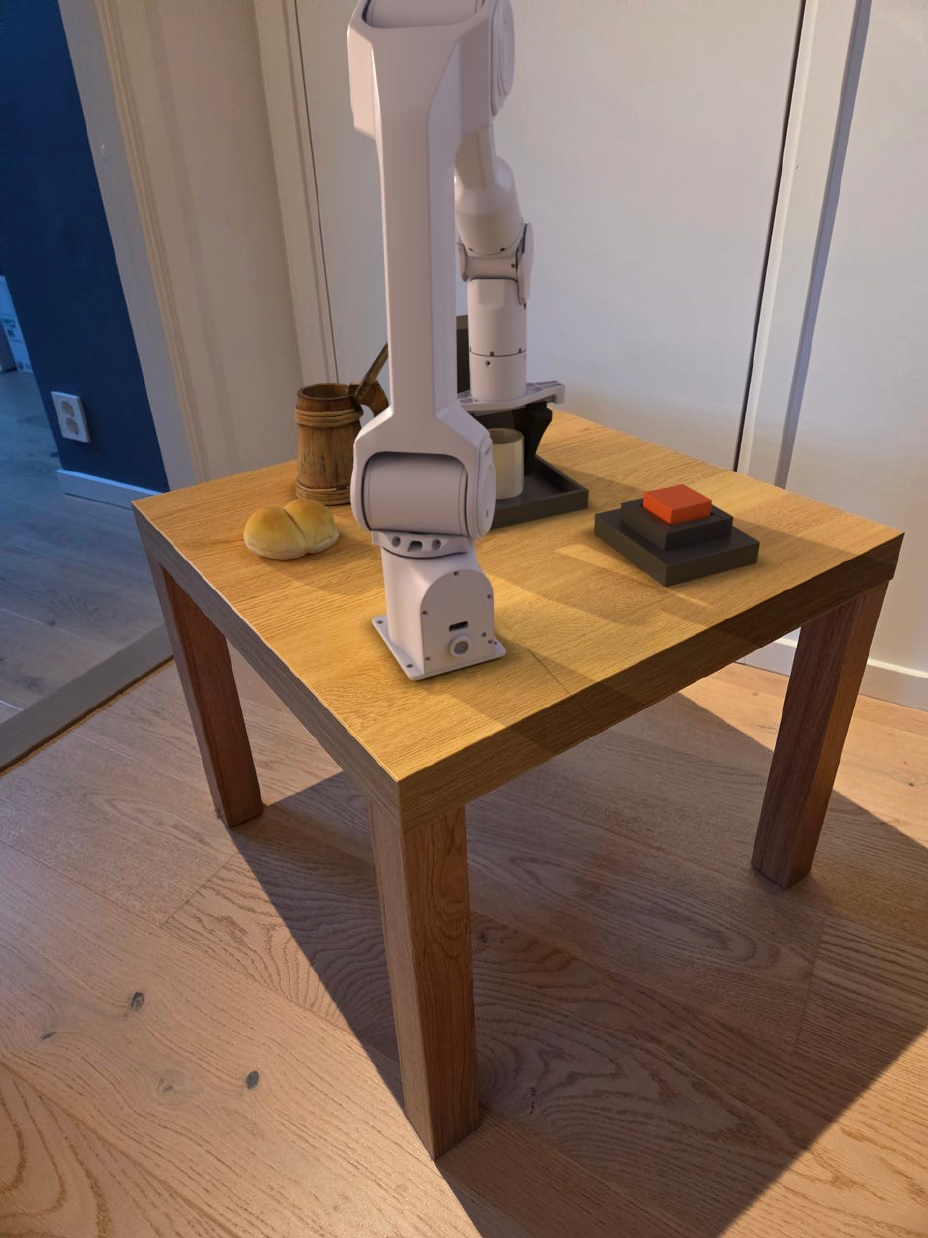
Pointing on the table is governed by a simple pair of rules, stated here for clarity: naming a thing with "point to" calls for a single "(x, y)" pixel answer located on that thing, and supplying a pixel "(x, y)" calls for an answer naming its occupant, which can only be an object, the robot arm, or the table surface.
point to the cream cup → (508, 461)
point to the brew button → (677, 504)
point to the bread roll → (291, 530)
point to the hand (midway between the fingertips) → (499, 477)
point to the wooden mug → (333, 433)
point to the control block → (676, 543)
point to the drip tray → (541, 497)
